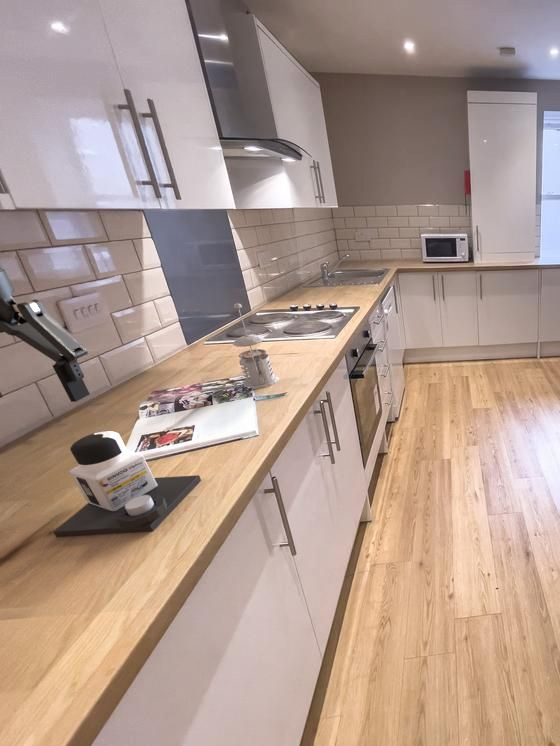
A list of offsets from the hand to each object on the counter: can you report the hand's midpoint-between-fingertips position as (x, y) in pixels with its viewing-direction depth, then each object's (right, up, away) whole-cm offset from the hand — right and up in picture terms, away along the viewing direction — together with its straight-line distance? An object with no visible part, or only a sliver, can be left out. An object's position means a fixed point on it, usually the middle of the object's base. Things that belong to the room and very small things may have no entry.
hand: (37, 399), depth 68 cm
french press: (+1, +3, +59) cm, 59 cm away
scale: (+7, -21, +10) cm, 24 cm away
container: (+4, -19, +11) cm, 22 cm away
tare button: (+13, -20, +5) cm, 24 cm away
